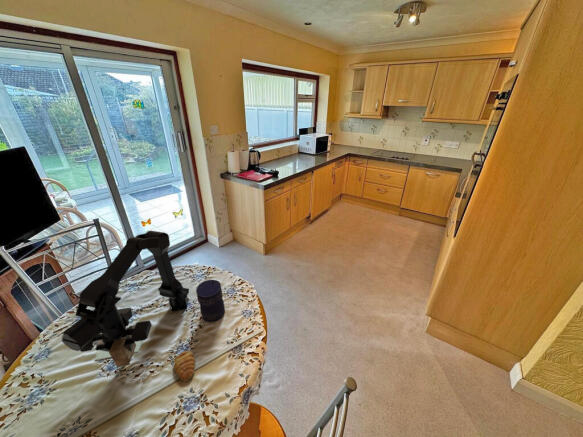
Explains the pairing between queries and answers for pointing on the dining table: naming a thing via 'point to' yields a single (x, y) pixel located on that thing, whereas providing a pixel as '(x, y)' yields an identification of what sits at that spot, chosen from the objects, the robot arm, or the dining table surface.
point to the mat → (106, 355)
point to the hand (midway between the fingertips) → (125, 351)
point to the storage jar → (210, 300)
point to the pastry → (185, 365)
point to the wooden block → (121, 352)
